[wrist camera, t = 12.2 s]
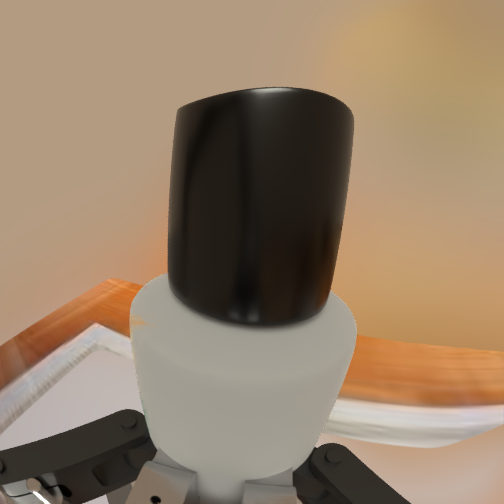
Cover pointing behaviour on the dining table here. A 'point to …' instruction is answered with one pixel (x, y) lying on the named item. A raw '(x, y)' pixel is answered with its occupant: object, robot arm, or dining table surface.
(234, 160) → the lotion bottle
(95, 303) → the dining table surface
